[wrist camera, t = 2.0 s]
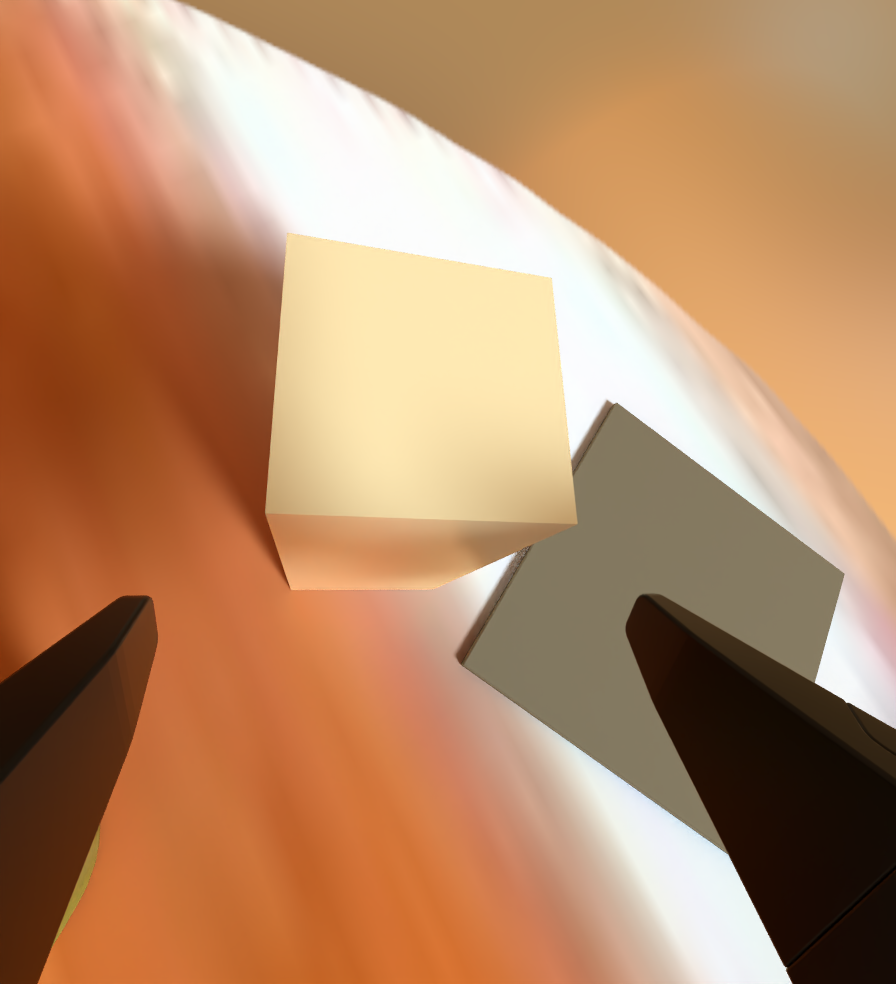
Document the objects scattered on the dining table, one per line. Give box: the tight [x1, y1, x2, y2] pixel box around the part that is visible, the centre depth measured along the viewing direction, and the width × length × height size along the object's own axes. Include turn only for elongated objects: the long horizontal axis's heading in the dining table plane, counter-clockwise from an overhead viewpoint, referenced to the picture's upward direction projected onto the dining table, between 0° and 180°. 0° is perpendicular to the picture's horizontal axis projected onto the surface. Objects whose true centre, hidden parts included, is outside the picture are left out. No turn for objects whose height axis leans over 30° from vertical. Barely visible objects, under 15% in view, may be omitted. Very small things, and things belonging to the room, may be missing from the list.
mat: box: [461, 403, 844, 854], centre depth 23 cm, size 15×15×1 cm
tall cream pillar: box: [265, 233, 578, 590], centre depth 15 cm, size 6×6×12 cm
